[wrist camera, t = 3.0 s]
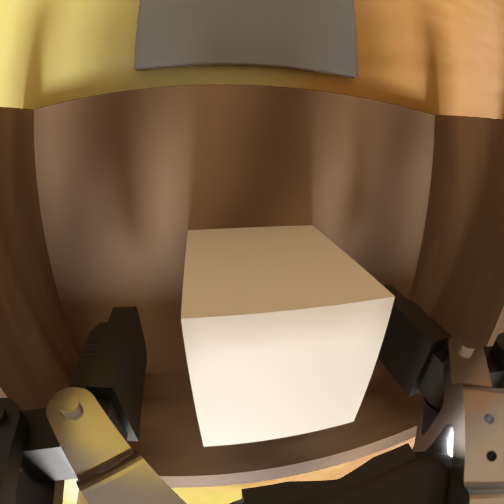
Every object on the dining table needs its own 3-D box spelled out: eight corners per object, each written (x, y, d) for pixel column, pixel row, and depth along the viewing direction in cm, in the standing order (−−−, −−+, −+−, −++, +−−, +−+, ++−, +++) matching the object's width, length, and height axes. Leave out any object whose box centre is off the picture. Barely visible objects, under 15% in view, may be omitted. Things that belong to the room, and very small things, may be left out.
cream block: (312, 225, 12) (395, 296, 7) (302, 326, 14) (353, 421, 9) (187, 230, 11) (180, 318, 6) (196, 335, 13) (203, 446, 8)
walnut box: (440, 119, 12) (547, 132, 6) (399, 345, 17) (457, 415, 11) (21, 116, 9) (-90, 120, 3) (77, 376, 14) (48, 472, 8)
